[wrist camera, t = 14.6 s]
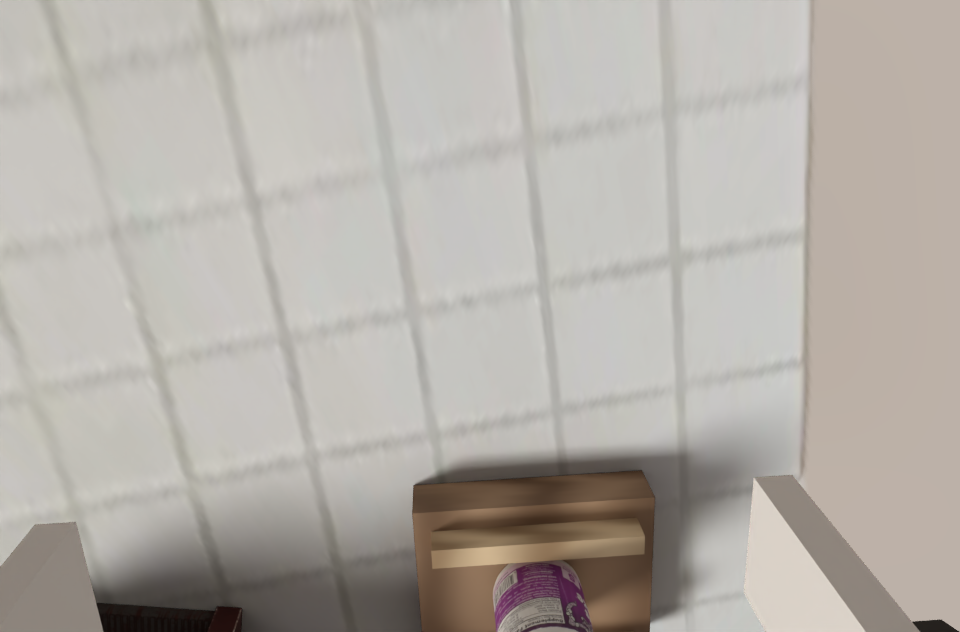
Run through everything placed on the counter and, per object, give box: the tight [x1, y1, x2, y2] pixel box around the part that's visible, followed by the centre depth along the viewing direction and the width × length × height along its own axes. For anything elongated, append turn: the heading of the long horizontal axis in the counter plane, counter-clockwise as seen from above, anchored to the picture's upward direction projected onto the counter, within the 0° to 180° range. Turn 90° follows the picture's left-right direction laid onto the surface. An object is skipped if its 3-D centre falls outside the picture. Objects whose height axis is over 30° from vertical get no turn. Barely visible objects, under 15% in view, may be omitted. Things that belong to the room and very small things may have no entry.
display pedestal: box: [412, 470, 655, 632], centre depth 48 cm, size 14×12×5 cm
